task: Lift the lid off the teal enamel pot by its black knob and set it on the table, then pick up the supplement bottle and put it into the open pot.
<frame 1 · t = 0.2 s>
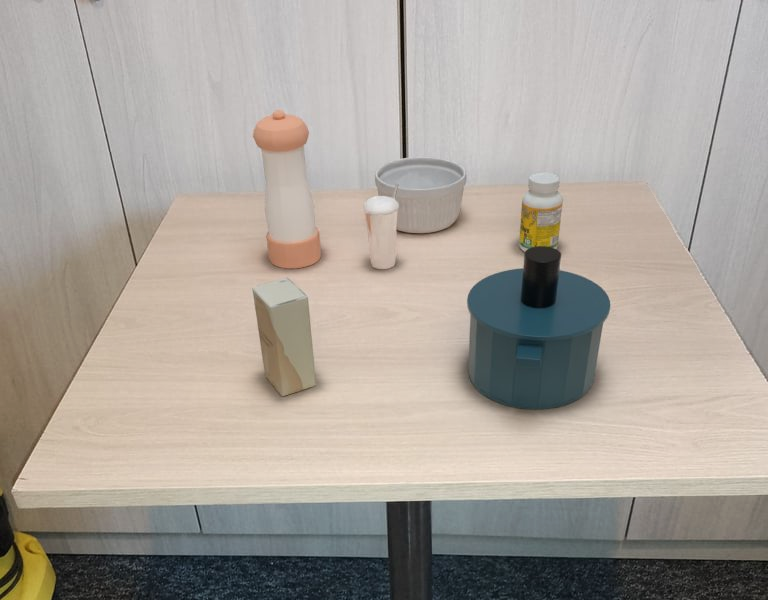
milkshake: (385, 264, 111), on the table
pot: (530, 373, 90), on the table
ramekin: (420, 220, 121), on the table
supplement bottle: (537, 248, 113), on the table
pepper shaker: (295, 258, 114), on the table
lid: (537, 304, 84), point 8 cm above the table, touching pot
box: (291, 382, 90), on the table
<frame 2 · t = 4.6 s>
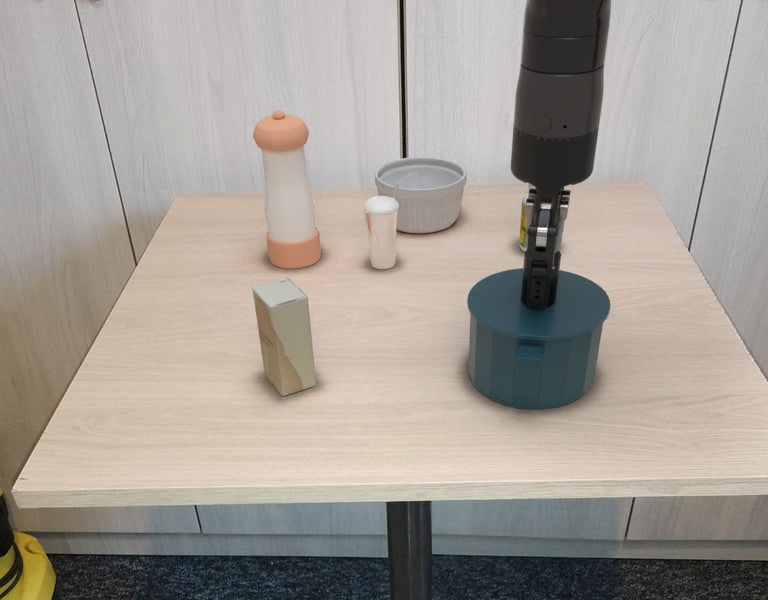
hand: (538, 296, 83), 9 cm above the table, tool pointing down, fingers closed on lid, 3 cm apart
lid: (537, 304, 84), point 8 cm above the table, touching gripper, pot
everything else where it was.
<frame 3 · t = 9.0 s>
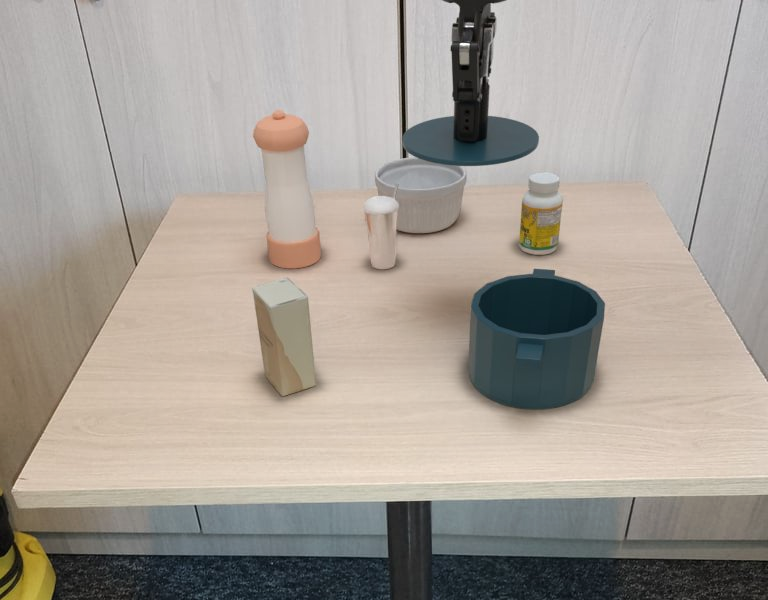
hand: (470, 132, 87), 21 cm above the table, tool pointing down, fingers closed on lid, 3 cm apart
lid: (470, 141, 87), point 20 cm above the table, touching gripper
everything else where it was.
when the fingers open (2 cm above the table, at t = 13.4 s): lid stays where it is, point 1 cm above the table.
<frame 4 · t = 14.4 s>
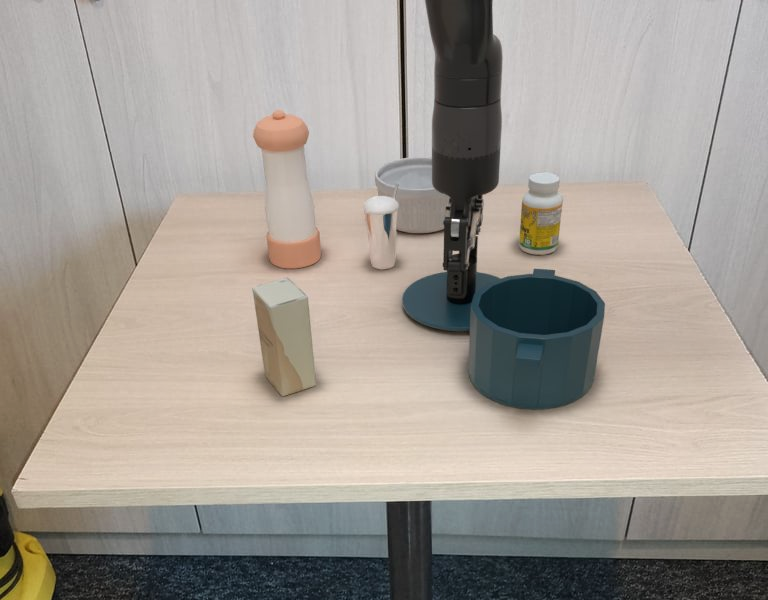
hand: (462, 280, 99), 3 cm above the table, tool pointing down, fingers open, 8 cm apart
lid: (460, 301, 101), point 1 cm above the table
everything else where it was.
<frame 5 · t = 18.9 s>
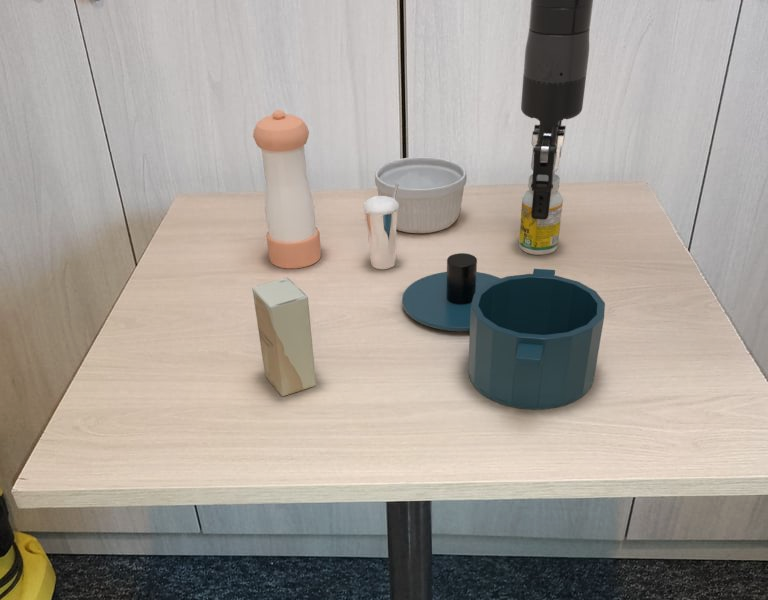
hand: (541, 208, 109), 5 cm above the table, tool pointing down, fingers closed on supplement bottle, 5 cm apart
supplement bottle: (537, 248, 113), on the table, touching gripper
everything else where it was.
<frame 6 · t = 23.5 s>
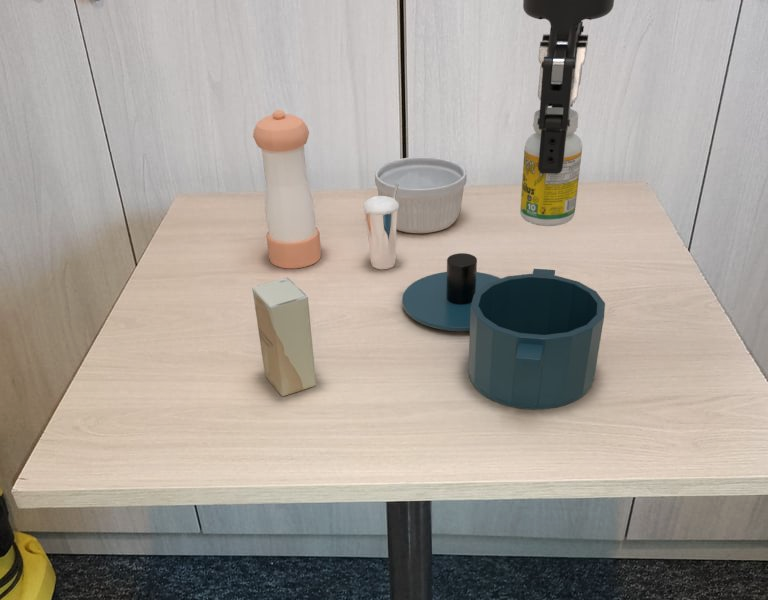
hand: (552, 159, 77), 22 cm above the table, tool pointing down, fingers closed on supplement bottle, 5 cm apart
supplement bottle: (546, 218, 81), point 16 cm above the table, touching gripper
everything else where it was.
when the fingers open (6 cm above the table, at t = 27.9 s): supplement bottle stays where it is, resting on pot.
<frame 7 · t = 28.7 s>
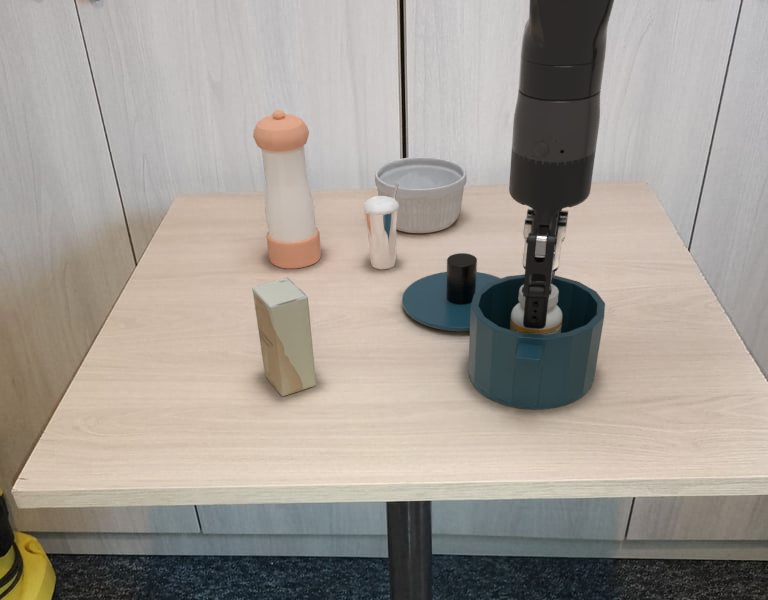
hand: (537, 306, 84), 8 cm above the table, tool pointing down, fingers open, 8 cm apart
supplement bottle: (531, 371, 90), resting on pot
everything else where it was.
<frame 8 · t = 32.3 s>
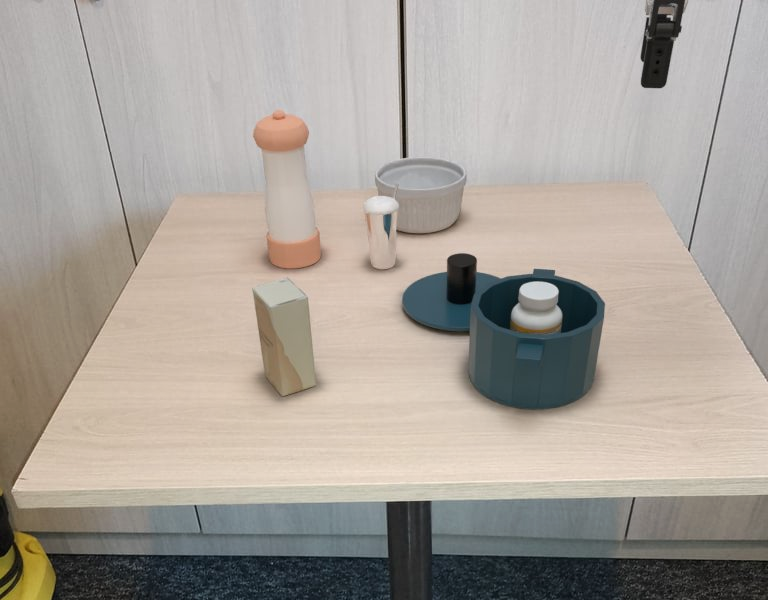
hand: (651, 73, 76), 28 cm above the table, tool pointing down, fingers open, 8 cm apart
nothing on the table moved.
at the end: lid inside the target area (0.0 cm from its centre), point 0.6 cm above the table; supplement bottle inside the target area in the pot (0.0 cm from its centre), point 0.3 cm above the pot's base; supplement bottle tilted 0° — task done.
